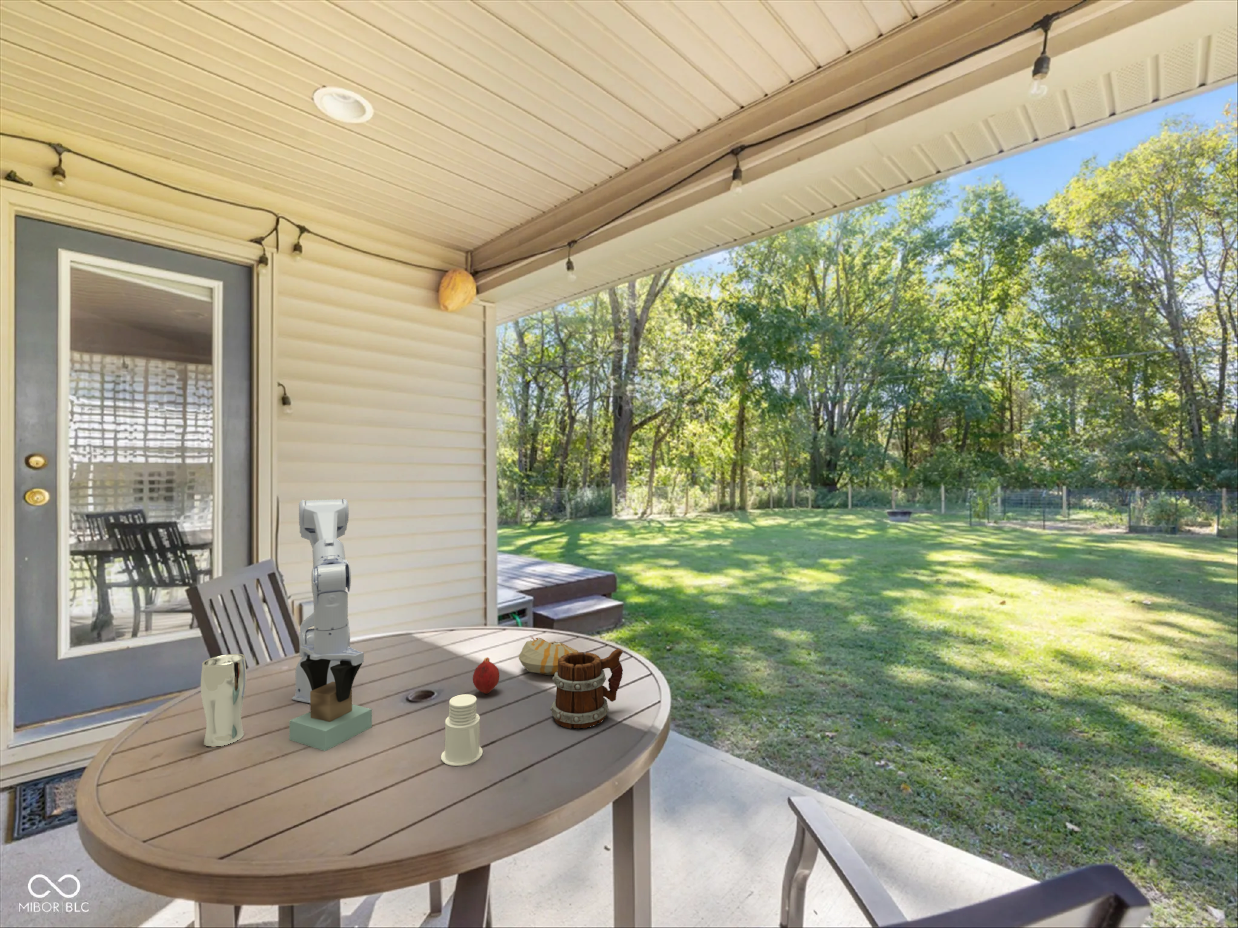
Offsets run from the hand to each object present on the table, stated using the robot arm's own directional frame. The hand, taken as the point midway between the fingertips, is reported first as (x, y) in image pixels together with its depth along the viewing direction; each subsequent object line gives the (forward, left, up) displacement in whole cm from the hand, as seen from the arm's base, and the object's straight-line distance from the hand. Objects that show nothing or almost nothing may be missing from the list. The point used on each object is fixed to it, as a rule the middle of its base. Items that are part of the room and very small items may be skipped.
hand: (331, 697), depth 104 cm
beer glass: (-17, -9, -7) cm, 20 cm away
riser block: (0, 0, -7) cm, 7 cm away
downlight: (+29, +2, -7) cm, 30 cm away
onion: (+17, +26, -7) cm, 32 cm away
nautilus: (+22, +44, -7) cm, 50 cm away
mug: (+43, +24, -7) cm, 50 cm away
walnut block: (0, 0, -3) cm, 3 cm away
